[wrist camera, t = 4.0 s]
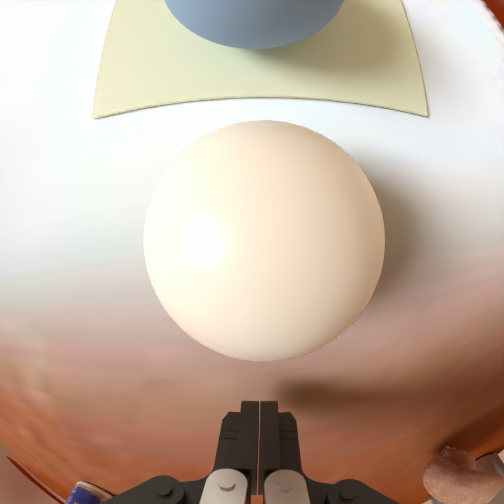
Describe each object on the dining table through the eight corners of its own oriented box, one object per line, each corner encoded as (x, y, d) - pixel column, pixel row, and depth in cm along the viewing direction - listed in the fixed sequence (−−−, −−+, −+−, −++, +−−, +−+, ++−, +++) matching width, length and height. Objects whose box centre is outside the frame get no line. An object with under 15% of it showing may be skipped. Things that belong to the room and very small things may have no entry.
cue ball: (369, 399, 6) (332, 270, 11) (476, 175, 3) (356, 122, 8) (144, 393, 6) (188, 265, 11) (59, 156, 3) (176, 114, 8)
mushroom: (463, 450, 13) (493, 503, 6) (407, 479, 14) (429, 542, 6) (480, 403, 12) (528, 467, 4) (414, 441, 13) (451, 523, 5)
